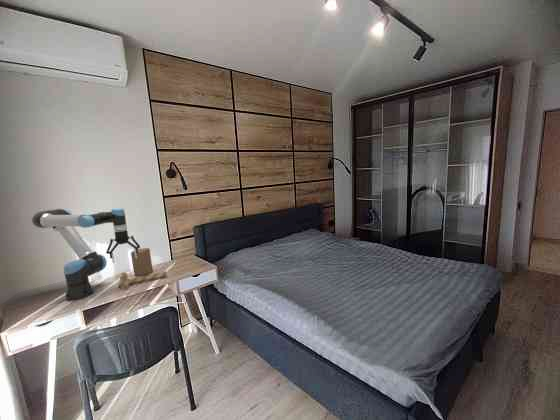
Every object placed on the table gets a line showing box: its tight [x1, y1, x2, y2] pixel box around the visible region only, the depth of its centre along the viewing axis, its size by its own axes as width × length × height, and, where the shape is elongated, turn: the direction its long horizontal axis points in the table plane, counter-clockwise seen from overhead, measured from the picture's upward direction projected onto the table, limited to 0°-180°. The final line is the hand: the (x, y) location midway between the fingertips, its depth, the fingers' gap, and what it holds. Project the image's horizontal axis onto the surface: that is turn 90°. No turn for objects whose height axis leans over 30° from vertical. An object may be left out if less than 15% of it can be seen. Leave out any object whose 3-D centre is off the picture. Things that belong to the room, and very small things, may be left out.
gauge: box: [119, 272, 130, 291], centre depth 181 cm, size 4×12×11 cm, turn 25°
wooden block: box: [130, 248, 154, 277], centre depth 204 cm, size 10×10×20 cm
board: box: [118, 271, 168, 289], centre depth 190 cm, size 31×9×2 cm, turn 115°
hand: (125, 260), depth 179 cm, fingers open, 13 cm apart
